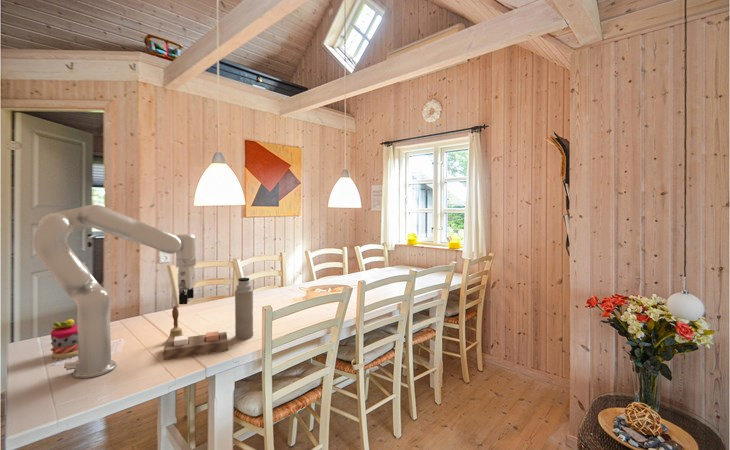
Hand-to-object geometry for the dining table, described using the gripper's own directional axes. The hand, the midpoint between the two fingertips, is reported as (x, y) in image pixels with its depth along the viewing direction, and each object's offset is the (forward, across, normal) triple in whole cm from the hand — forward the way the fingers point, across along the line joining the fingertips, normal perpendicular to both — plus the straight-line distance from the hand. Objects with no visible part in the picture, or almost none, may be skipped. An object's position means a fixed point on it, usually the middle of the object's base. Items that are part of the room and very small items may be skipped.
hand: (186, 301), depth 151 cm
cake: (+20, 0, +45) cm, 49 cm away
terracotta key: (+17, -4, -11) cm, 21 cm away
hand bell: (+20, +7, +6) cm, 22 cm away
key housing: (+20, -5, -5) cm, 21 cm away
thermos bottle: (+20, +6, -23) cm, 32 cm away
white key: (+17, -7, +1) cm, 18 cm away
